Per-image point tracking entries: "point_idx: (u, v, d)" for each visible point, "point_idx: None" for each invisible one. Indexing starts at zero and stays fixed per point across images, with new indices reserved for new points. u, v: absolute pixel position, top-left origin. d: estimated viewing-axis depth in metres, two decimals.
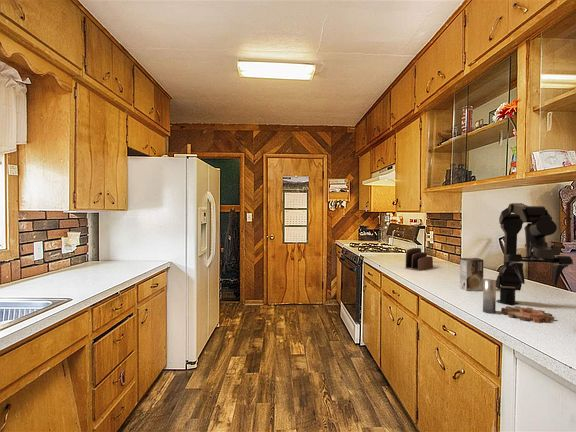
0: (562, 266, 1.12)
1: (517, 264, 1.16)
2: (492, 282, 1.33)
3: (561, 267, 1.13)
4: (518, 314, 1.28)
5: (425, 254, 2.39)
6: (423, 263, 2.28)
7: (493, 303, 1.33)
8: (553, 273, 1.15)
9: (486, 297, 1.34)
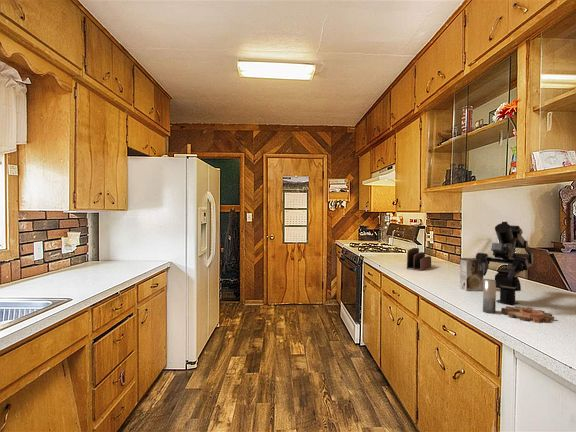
0: (515, 262, 1.35)
1: (481, 258, 1.45)
2: (492, 282, 1.33)
3: (515, 263, 1.36)
4: (518, 314, 1.28)
5: (424, 254, 2.40)
6: (424, 263, 2.29)
7: (493, 303, 1.33)
8: None
9: (486, 297, 1.34)
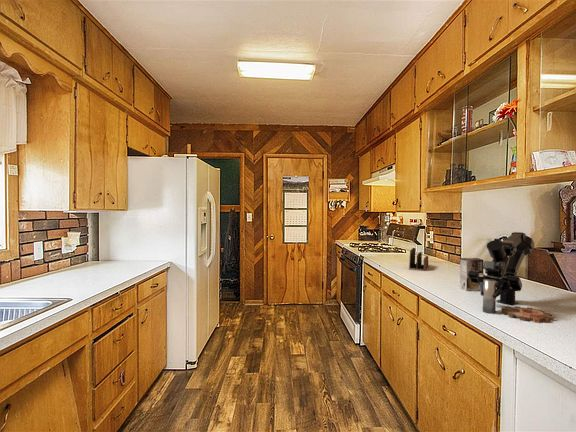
0: (502, 281, 1.32)
1: (478, 277, 1.39)
2: (492, 282, 1.33)
3: (501, 282, 1.33)
4: (518, 314, 1.28)
5: (421, 254, 2.41)
6: (425, 263, 2.29)
7: (493, 303, 1.33)
8: None
9: (486, 297, 1.34)
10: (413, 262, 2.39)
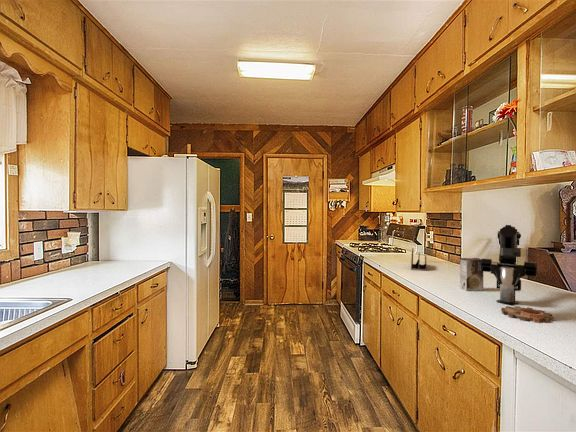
0: (519, 267, 1.29)
1: (493, 265, 1.34)
2: (511, 269, 1.28)
3: (519, 269, 1.29)
4: (518, 314, 1.28)
5: None
6: None
7: (512, 291, 1.28)
8: None
9: (506, 286, 1.29)
10: None
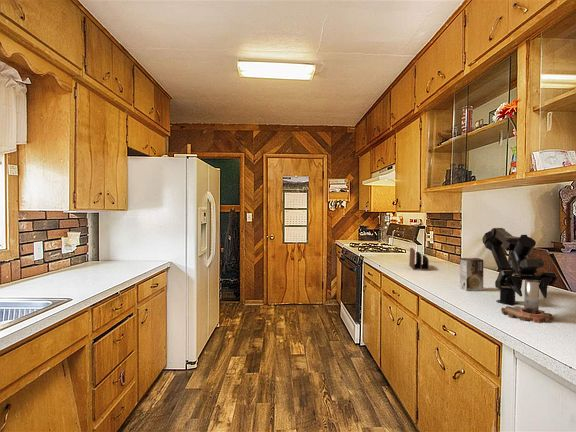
0: (547, 278, 1.26)
1: (512, 277, 1.29)
2: (538, 283, 1.25)
3: (546, 280, 1.26)
4: (518, 314, 1.28)
5: (417, 253, 2.42)
6: None
7: (538, 306, 1.25)
8: (541, 288, 1.28)
9: (533, 301, 1.25)
10: (411, 262, 2.39)
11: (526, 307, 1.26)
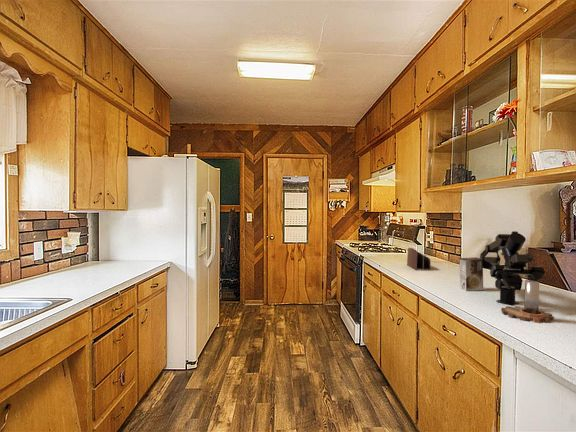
0: (537, 273, 1.35)
1: (501, 271, 1.38)
2: (538, 283, 1.25)
3: (537, 274, 1.35)
4: (518, 314, 1.28)
5: None
6: None
7: (538, 306, 1.25)
8: None
9: (533, 301, 1.25)
10: None
11: (526, 307, 1.26)
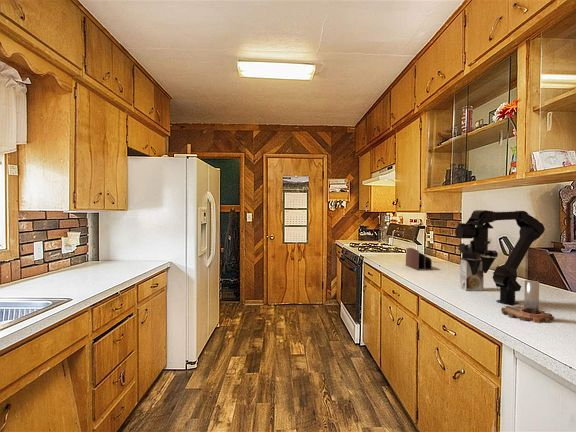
0: None
1: None
2: (538, 283, 1.25)
3: None
4: (518, 314, 1.28)
5: None
6: None
7: (538, 306, 1.25)
8: None
9: (533, 301, 1.25)
10: None
11: (526, 307, 1.26)
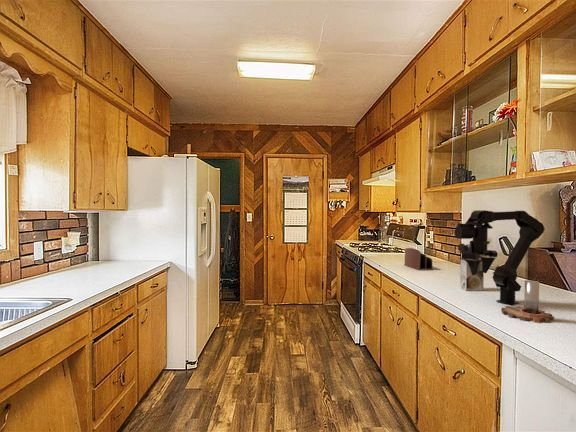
0: None
1: None
2: (538, 283, 1.25)
3: None
4: (518, 314, 1.28)
5: None
6: None
7: (538, 306, 1.25)
8: None
9: (533, 301, 1.25)
10: None
11: (526, 307, 1.26)
